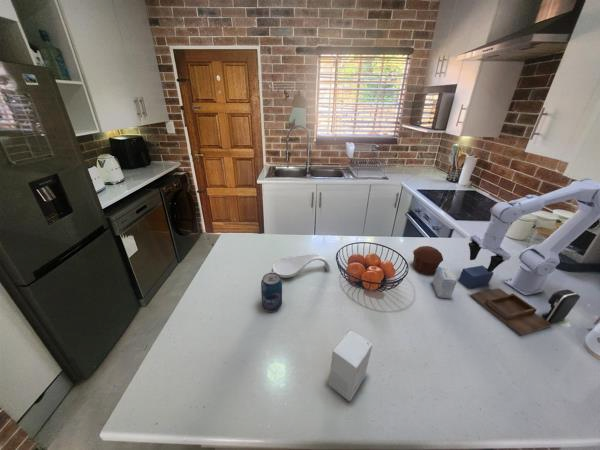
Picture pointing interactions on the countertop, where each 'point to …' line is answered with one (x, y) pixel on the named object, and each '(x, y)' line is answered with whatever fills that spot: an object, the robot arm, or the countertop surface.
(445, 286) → the medicine box
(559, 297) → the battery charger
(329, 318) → the countertop surface
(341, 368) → the small box
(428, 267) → the muffin
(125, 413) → the countertop surface
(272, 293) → the soda can
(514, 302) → the mounting pad
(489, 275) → the blue block
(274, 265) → the spoon rest
